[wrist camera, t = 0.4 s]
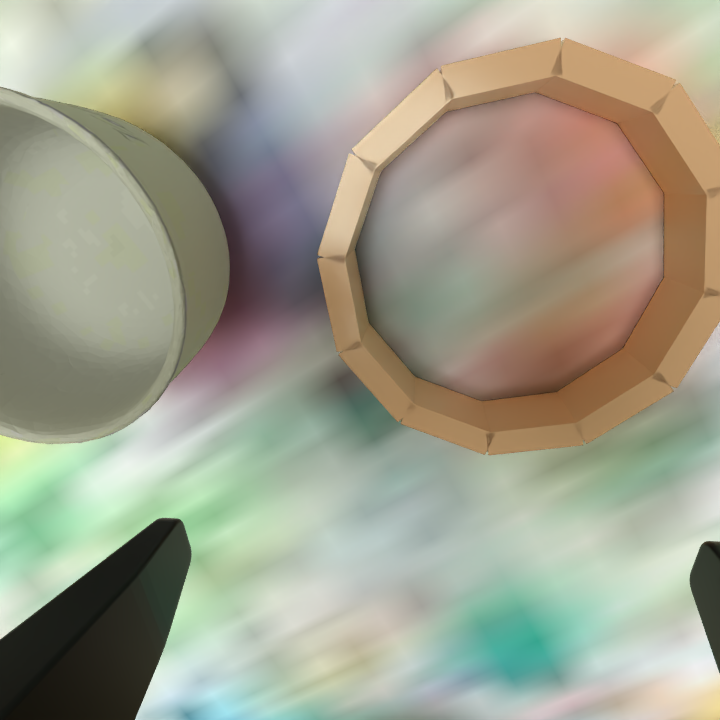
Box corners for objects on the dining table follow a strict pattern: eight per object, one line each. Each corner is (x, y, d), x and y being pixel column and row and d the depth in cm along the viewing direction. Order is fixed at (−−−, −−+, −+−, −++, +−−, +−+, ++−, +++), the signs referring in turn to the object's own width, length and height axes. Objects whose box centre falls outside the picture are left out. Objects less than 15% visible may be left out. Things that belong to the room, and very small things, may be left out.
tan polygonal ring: (689, 397, 21) (729, 429, 19) (368, 434, 24) (361, 468, 21) (696, 23, 17) (749, -7, 14) (303, 114, 19) (283, 102, 17)
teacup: (212, 84, 20) (83, 23, 12) (288, 345, 23) (225, 424, 15) (-79, 174, 22) (-335, 170, 15) (28, 397, 25) (-137, 488, 18)
